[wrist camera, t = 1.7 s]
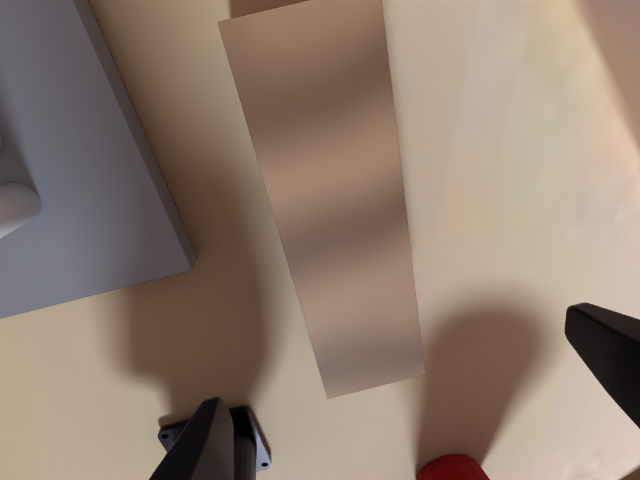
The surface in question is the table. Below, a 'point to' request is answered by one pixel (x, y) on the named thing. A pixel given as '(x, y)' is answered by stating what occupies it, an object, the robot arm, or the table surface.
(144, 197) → the peg stand
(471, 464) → the plastic cup
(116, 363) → the table surface
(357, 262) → the brown rectangular block
